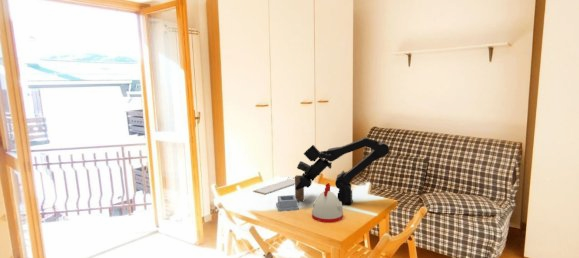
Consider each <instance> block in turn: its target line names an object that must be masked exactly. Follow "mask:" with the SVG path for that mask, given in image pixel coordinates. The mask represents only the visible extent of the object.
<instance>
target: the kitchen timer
mask: <svg viewBox="0 0 579 258" xmlns="http://www.w3.org/2000/svg"><path fill="white" fill-rule="evenodd" d="M311 218H312V219H313V220H314V221H316V222H320V223H324V224H325V223H328V224H329V223H336V222H337V223H338V222H340V221H342V220H343V218H344V211H343V204H342V202H340V201H339V199H338V195H336V194H335V193H334V192H332V191H331V183H329V182H327V183H326V184H325V188H324V190H323V191H322V192H320V193H319V195H318V196H317V197H316V198H315V199H314V202H313V203H312V210H311Z"/></svg>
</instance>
